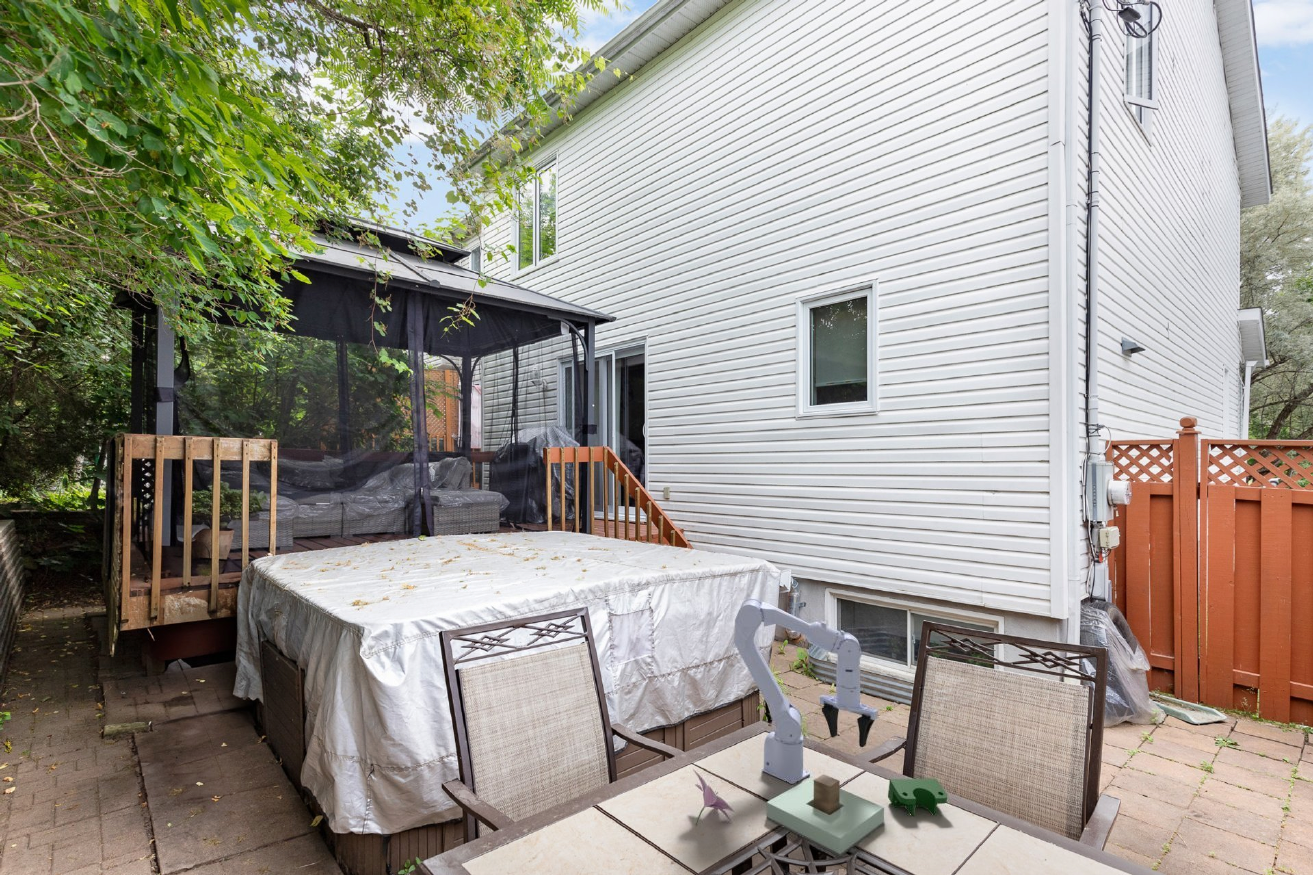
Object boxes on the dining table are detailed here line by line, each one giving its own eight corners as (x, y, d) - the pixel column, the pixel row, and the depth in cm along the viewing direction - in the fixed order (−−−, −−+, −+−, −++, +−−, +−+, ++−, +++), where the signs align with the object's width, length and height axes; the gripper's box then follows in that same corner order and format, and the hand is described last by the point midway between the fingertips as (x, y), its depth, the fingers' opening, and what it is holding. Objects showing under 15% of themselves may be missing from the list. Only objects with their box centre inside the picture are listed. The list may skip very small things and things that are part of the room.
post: (813, 817, 136) (813, 779, 136) (823, 811, 138) (823, 774, 139) (829, 825, 133) (829, 786, 133) (839, 818, 136) (839, 780, 136)
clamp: (905, 834, 139) (894, 801, 137) (893, 813, 145) (882, 782, 143) (955, 814, 139) (944, 782, 137) (941, 794, 145) (931, 763, 143)
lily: (733, 846, 127) (748, 796, 131) (681, 821, 127) (698, 772, 131) (719, 833, 138) (734, 787, 142) (671, 810, 139) (687, 765, 142)
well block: (766, 818, 136) (766, 802, 136) (812, 792, 148) (812, 776, 148) (840, 856, 122) (840, 838, 123) (884, 824, 135) (884, 807, 135)
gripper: (814, 681, 157) (813, 736, 156) (869, 696, 147) (869, 755, 146) (827, 675, 162) (827, 729, 161) (881, 689, 152) (881, 746, 151)
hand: (848, 741), depth 154 cm, fingers open, 7 cm apart
